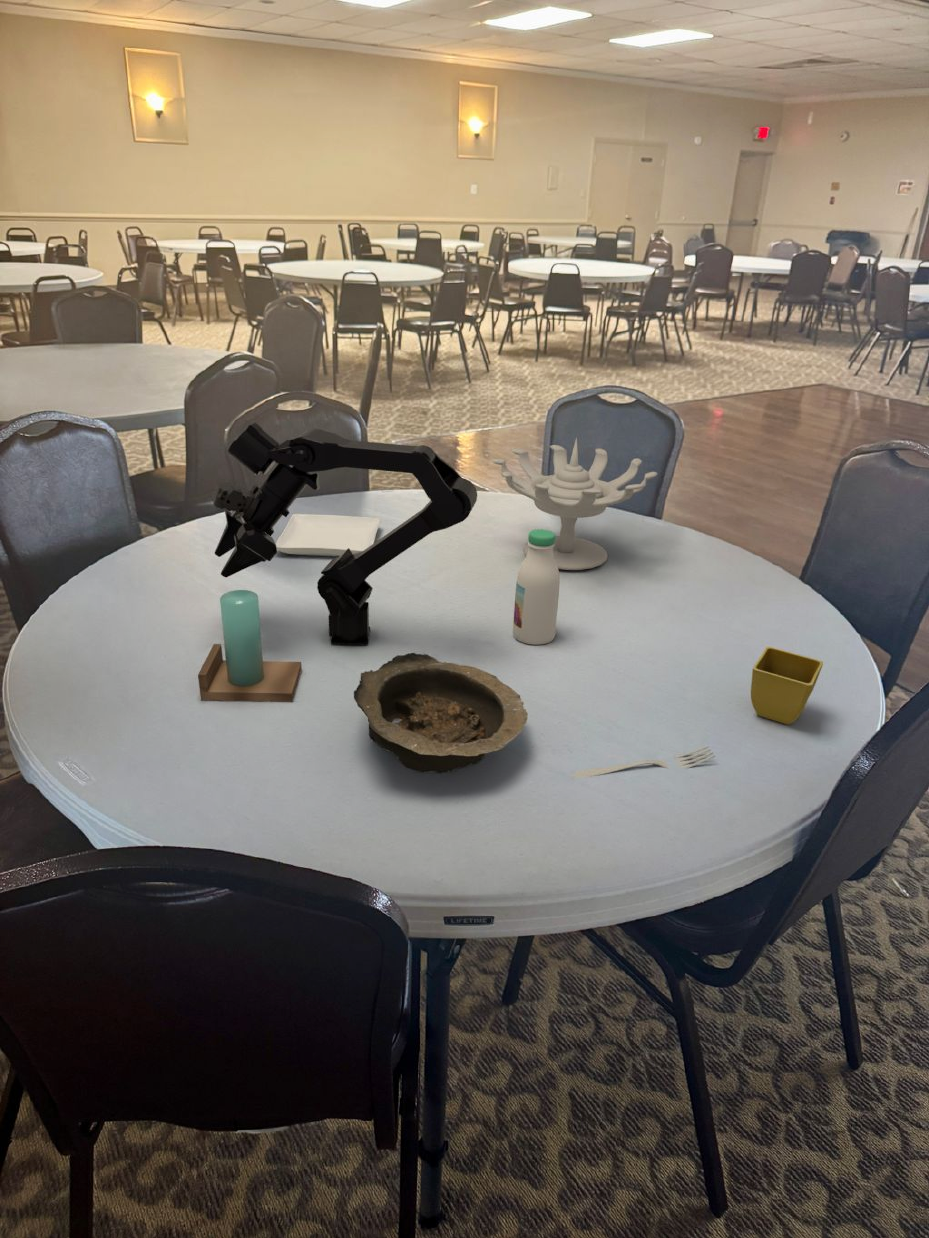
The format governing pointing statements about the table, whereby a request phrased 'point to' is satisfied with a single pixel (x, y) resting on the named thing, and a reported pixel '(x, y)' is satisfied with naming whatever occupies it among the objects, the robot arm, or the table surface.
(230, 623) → the mint green capsule
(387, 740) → the stone bowl
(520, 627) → the milk bottle
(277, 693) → the shelf board
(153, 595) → the table surface
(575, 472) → the candelabra
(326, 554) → the salad plate
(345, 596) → the robot arm
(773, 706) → the flower pot
